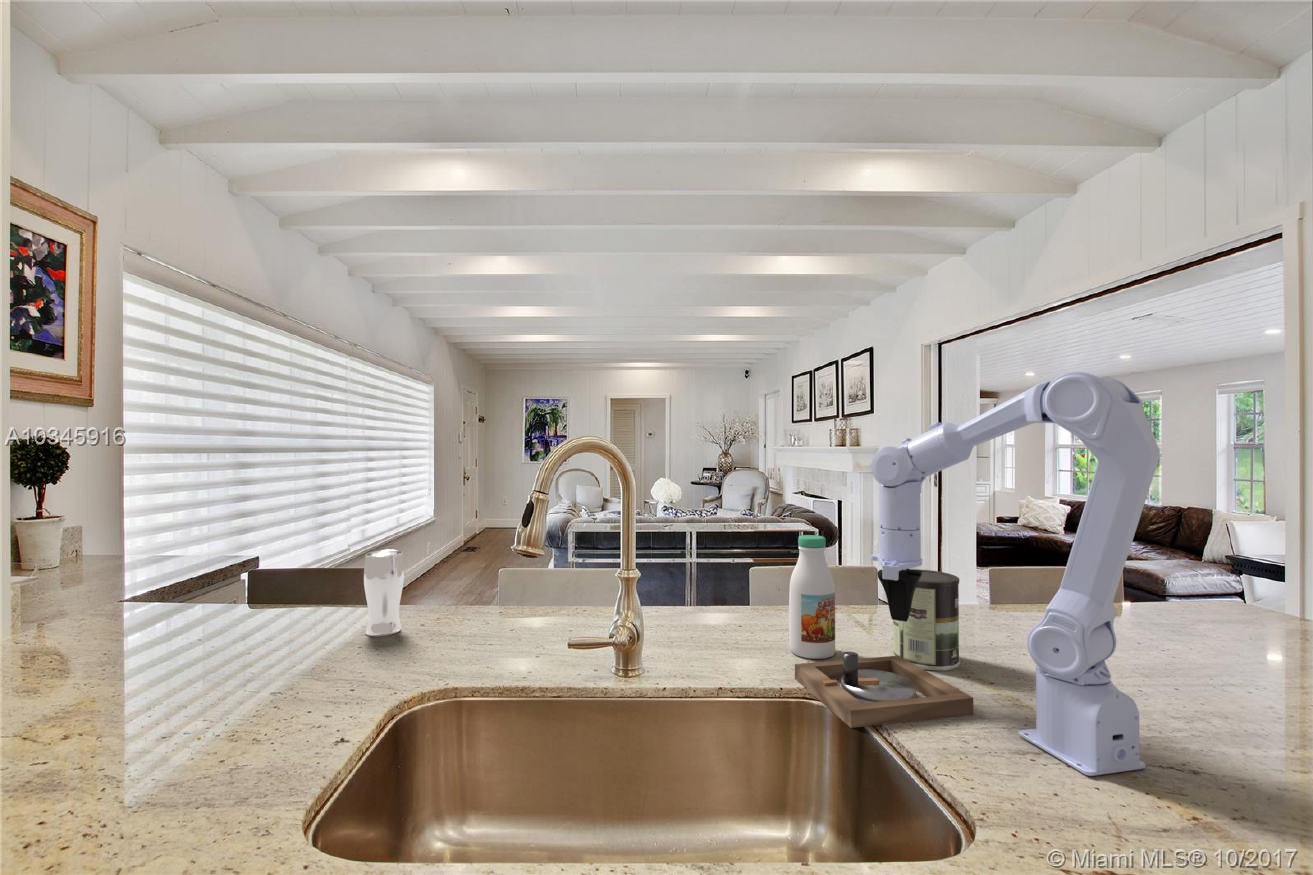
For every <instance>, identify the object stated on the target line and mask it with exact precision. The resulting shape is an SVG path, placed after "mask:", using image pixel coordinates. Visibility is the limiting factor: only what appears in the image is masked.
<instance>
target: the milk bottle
mask: <svg viewBox="0 0 1313 875" xmlns="http://www.w3.org/2000/svg"><path fill="white" fill-rule="evenodd" d="M797 539H798V540H797V543H798V549H799V555H798V558H797V562H796V564H795V567H794V569H793V571H792V573H791V577H790V579H789V580H790V581H789V592H788V593H789V596H788V598H789V599H788V601H789V602H788V606H789V607H788V645H789V646H788V648H789V651H790V652H791V653H792V654H794V655H795V656H798V657H801V658H804V659H811V660H812V659H813V660H825V659H829V658H832V657H833V656H834V655H835V653H836V591H835V590H836V588H835V582H834V578H833V575H832V572H831V571H830V568H829V566H828V563H827V561H826V560H827V559H826V557H825V551H826V543H827V541H826V540H827V539H826V538H825V537H824V536H823V535H816V534H815V535H812V534H804V535H799V536H798V538H797Z"/></svg>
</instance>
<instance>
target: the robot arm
mask: <svg viewBox="0 0 1313 875" xmlns="http://www.w3.org/2000/svg"><path fill="white" fill-rule="evenodd" d="M1144 410H1145V409H1144V401H1143V400H1142V399H1141V398H1140V397H1139V396H1138V395H1137V394H1136V393H1135V392H1134V391H1133V390H1131V389H1130V387H1128V386H1127V385H1126V384H1125V383H1124V382H1123V381H1120V380H1119V379H1116V378H1113V377H1109V376H1108V377H1107V376H1096V375H1094V374H1091V373H1088V372H1085V371H1084V372H1083V371H1071V372H1067V373H1063V374H1060V375H1058V376H1057V377H1056V378H1054V379H1053V380H1052V381H1050V380H1049V381H1048V380H1047V381H1044V382H1040V383H1038V384H1036V385H1034V386H1032V387H1030V388H1029V389H1027V390H1025V391H1024V392H1021V393H1019V394H1018V395H1016V396H1014V397H1012V398H1010V399H1008V400H1007V401H1004V402H1003V403H1001V404H999V405H997V406H996V407H995V406H994V407H993V408H991V409H989V410H988V411H984V412H983V413H982V414H980V415H978V416H976V417H974V418H972V419H971V420H968V421H966V422H964V423H963V424H961V425H957V424H954V423H952V422H945V423H942V422H933V423H932V424H930V425H929V426H928V428H929V430H928V431H926V432H923V433H922V434H920V435H917V436H916V437H914V438H910V437H909V438H904V439H902V440H901V444H900V445H899V447H896V446H883V447H882V448H881V449H880V450H879V451H877V452H876V453H875V454H874V456H873V457H872V460H871V464H870V468H871V469H870V470H871V473H872V476H873V478H874V479H875V481H876V482H877V483H878V491H879V492H878V518H879V519H878V530H879V531H878V542H879V544H878V545H879V546H878V547H879V551H878V553H873V554H870V560H871V561H874V562H878V563H879V564H880V566H881V569H879V570H878V571H877V579H878V580H879V582H880V584H881V585H882V587H883V590H884V592H885V596H886V600H887V605H888V609H889V614H890V617H891V620H892V621H893V620H898V621H904V622H907V620H908V618H909V615H910V610H911V605H912V600H913V595H914V591H915V588H916V586H917V583H918V581H919V579H920V577H921V576H922V571H919V570H920V569H919V570H912V569H914V568H917V567H921V566H922V565H923V558H922V557H921V556H922V554H921V553H922V550H921V549H922V548H921V544H922V543H921V540H922V537H921V535H922V534H921V532H922V531H921V530H922V528H921V524H922V523H921V518H922V517H921V515H922V514H921V503H922V502H921V500H922V499H921V494H922V485H923V482H924V481H925V480H926V479H927V477H930V476H931V475H934V474H936V473H939V472H941V471H943V470H946V469H948V468H950V467H953V466H955V465H958V464H960V463H962V462H965V461H966V460H967V461H968V459H969V458H970V456H971V454H972V452H973V449H974V447H975V446H978V445H981V444H983V443H985V442H988V441H990V440H993V439H996V438H999V437H1001V436H1004V435H1007V434H1009V433H1012V432H1014V431H1016V430H1019V429H1021V428H1025V427H1027V426H1029V425H1033V424H1056V425H1057V426H1059V427H1061V428H1063V429H1064V430H1066V431H1068V432H1069V433H1071V434H1072V435H1074V436H1076V437H1077V438H1079V440H1080V441H1081V442H1082V444H1084V446H1085V447H1086V448H1087V449H1088V451H1089V452H1090V453H1091V454H1092V455H1093V456H1094V457H1095V459H1096V460H1097V464H1096V467H1095V470H1094V474H1093V478H1092V481H1091V484H1090V488H1089V490H1088V494H1087V497H1086V501H1085V503H1084V507H1083V510H1082V514H1081V516H1080V520H1079V524H1078V527H1077V530H1076V534H1075V537H1074V540H1073V543H1072V547H1071V549H1070V553H1069V556H1068V559H1067V563H1066V566H1065V570H1064V572H1063V576H1062V579H1061V582H1060V586H1059V589H1058V590H1057V592H1056V593H1055V595H1054V596H1053V597H1052V599H1051V600H1050V602H1049V603H1048V605H1047V606H1046V608H1045V611H1044V615H1043V617H1042V619H1041V620H1040V621H1039V622H1038V623H1037V624H1035V625H1034V626H1032V628H1031V629H1030V630H1029V633H1027V634H1028V635H1027V638H1026V640H1027V641H1026V644H1027V645H1026V646H1027V650H1028V653H1029V655H1030V658H1031V659H1032V660H1033V662H1034V663H1035V710H1036V711H1035V712H1036V713H1035V726H1036V727H1035V728H1029V729H1022V730H1018V735H1019V736H1020V737H1021V738H1023V739H1024V740H1026V741H1028V742H1029V743H1031V744H1033V745H1035V746H1036V747H1038V748H1040V749H1042V750H1043V751H1045V752H1047V753H1048V754H1050V755H1051V756H1053V757H1054V758H1057V759H1058V760H1060V761H1062V762H1063V763H1065V764H1066V765H1069V766H1071V767H1072V768H1073V769H1075V770H1076V771H1078V772H1080V773H1082V774H1083V775H1086V776H1089V777H1092V776H1093V777H1094V776H1101V775H1108V774H1113V773H1114V774H1116V773H1120V772H1127V771H1128V772H1129V771H1134V770H1142V769H1145V768H1146V763H1145V762H1143V761H1141V760H1140V758H1141V756H1140V754H1141V752H1140V747H1141V746H1140V713H1139V709H1138V706H1137V704H1136V702H1135V701H1134V699H1133V698H1132V697H1130V695H1127V693H1125V692H1123V691H1122V690H1120V689H1118V688H1117V687H1116V686H1115V684H1114V683H1113V682H1112V680H1111V675H1112V674H1111V672H1110V669H1109V668H1108V665H1107V664H1106V660H1107V659H1110V658H1111V657H1112V656H1113V654H1114V652H1116V648H1117V636H1116V633H1115V630H1114V621H1115V618H1116V614H1117V610H1116V608H1115V604H1114V599H1115V597H1116V592H1117V589H1118V586H1119V584H1120V582H1121V581H1120V580H1121V577H1122V575H1123V571H1124V569H1125V565H1126V563H1127V559H1128V556H1129V553H1130V549H1131V548H1132V547H1131V546H1132V544H1133V540H1134V537H1135V533H1136V532H1137V528H1138V525H1139V522H1140V519H1141V516H1142V512H1143V509H1144V506H1145V503H1146V500H1147V497H1148V494H1149V491H1150V487H1151V484H1152V482H1153V479H1154V476H1155V473H1156V472H1155V471H1156V469H1157V466H1158V463H1159V460H1160V448H1159V445H1158V443H1157V440H1156V437H1155V436H1154V434H1153V431H1152V429H1151V428H1152V427H1151V426H1150V424H1149V422H1148V418H1147V416H1146V414H1145V411H1144Z"/></svg>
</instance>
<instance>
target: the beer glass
mask: <svg viewBox="0 0 1313 875" xmlns="http://www.w3.org/2000/svg"><path fill="white" fill-rule="evenodd" d="M364 557H365V558H364V566H363V586H364V587H363V588H364V592H365V598H366V604H367V610H368V611H367V613H368V614H367V615H368V617H367V624H366V628H365V634H366V635H367V637H368V636H369V637H387V636H391V635H394V634H397V633H399V632H401V630H402V626H401V620H400V604H401V599H402V593H403V588H404V580H405V565H404V563H405V562H404V552H403V550H399V549H383V550H375V551H373V550H372V551H369V552H366V553H365V556H364Z"/></svg>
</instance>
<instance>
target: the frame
mask: <svg viewBox="0 0 1313 875" xmlns="http://www.w3.org/2000/svg"><path fill="white" fill-rule="evenodd" d="M858 669H872V670H881V671H886V672H890V673H894V674H897V675H900V676H902V677H905V678H906V679H908V680H910V681H911V682H912V683H913V684H914V685H915V687H916V692H918V693H920V694H921V695H923V696H924V697H916V698H912V699H902V700H892V701H882V702H872V703H861V702H859V701H858V700H857V699H856V698H854V697H853V696H852V695H850V694H849V693H848V692H847V691H845V690H844V689H843V688H841V685H839V681H837V680H839V679H840V680H841V677H842V675H843V659H842V660H841V659H839V660H828V661H816V662H815V661H814V662H806V663H805V662H803V663H795V664H794V679H795V681H797V682H798V683H799V684H800V685H801V686H802V687H804V688H805V687H806V688H805V689H806V690H807V691H808V693H809V692H810V694H812V695H813V696H814V697H815V698H816V699H817V700H818V701H819V702H820V703H822V704H823V705H824V706H826V708H828V709H829V710H830V711H831V712H832V713H833V714H834V715H835V716H837V717H838V719H840V720H841V721H842V722H844V723H845V725H847V726H848V727H849V728H850V729H853V728H862V727H863V728H865V727H869V726H870V727H871V726H879V725H880V726H881V725H891V724H900V723H908V722H916V721H917V722H918V721H927V720H934V719H945V718H954V717H960V716H961V717H963V716H971V715H972V716H973V715H974V697H972V696H971V695H969V694H968V693H967V692H964V691H962V690H961V689H959V688H957V687H955V686H954V685H952V684H950V683H948V682H947V681H945V680H943V679H941V678H940V677H938V676H936V675H934V674H933V673H931V672H928V670H925V669H922V668H920V667H918V666H917V665H915V664H913V663H911V662H910V661H908V660H906V659H904V658H903V657H901V656H893V655H889V656H877V657H865V658H858Z"/></svg>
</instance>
